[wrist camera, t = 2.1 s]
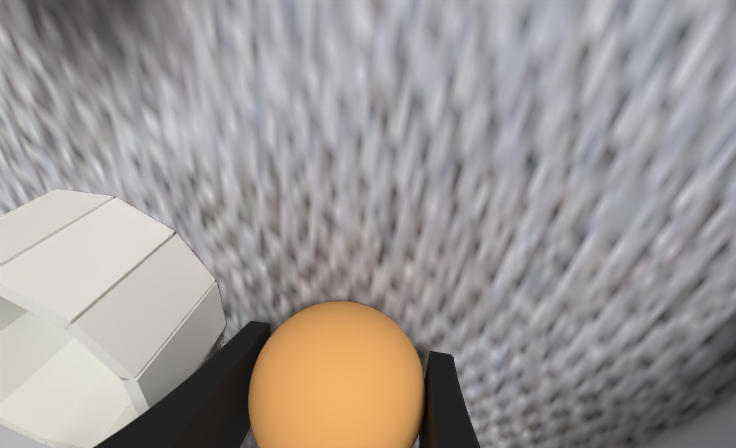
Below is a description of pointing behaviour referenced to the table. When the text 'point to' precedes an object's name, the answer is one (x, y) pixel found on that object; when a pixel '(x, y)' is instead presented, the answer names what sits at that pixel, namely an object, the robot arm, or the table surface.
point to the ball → (337, 382)
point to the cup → (96, 316)
